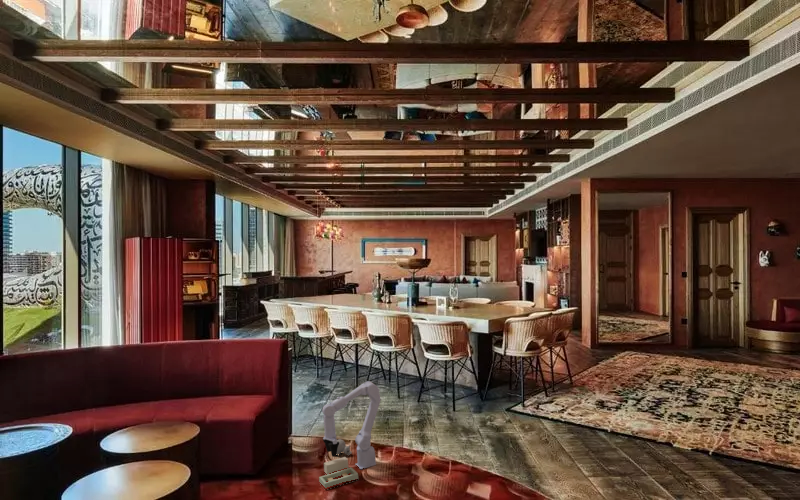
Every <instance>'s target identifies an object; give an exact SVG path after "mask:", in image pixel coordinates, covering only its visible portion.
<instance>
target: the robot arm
mask: <svg viewBox="0 0 800 500" xmlns="http://www.w3.org/2000/svg"><path fill="white" fill-rule="evenodd" d="M360 395H361V396H367V395H368V397H369V399H370V402H369V405H368V409H367V411H366V414H365V418H364V421H363V424H362V427H361V429H360V430H359V432H358V434H357V435H356V437H355V439H354V440H355V443H356V445H357V446H356V456H357V457H356V458H357V463H355V464H354V465H355V466H356V465H357V466H358V467H359V468H358V467H357V466H356V467H357V468H358V469H360V470H364V469H366V468H369V467H370V468H371V467H373V466H377V461H376V452H375V450H376V449H375V448H374V447H373V446H372V445H371V438H372V429H373V426H374V423H375V420H376V416H377V413H378V410H379V406H380V403H381V399H382V398H381V395H380V389H379V387H378V386H377V385H376V384H374V383H373V382H372V381H371V380H369V381H368V380H367V381H365V382H364V383H361V384H360V385H359V386H357V387H356V388H354V389H353V390H351V391H350V392H348V393H347V394H346V395H344V396H342V395H341V396H337V397H336V399H334V400H332V401H330V402H329V403H327V404H324V405H323V407H322V411H321V412H322V414H323V427H324V432H323V433H324V437H322V441H323V444H324V446H325V450H326V452H327V453H331V456H332V457H333V458H334V457H337V456H336V454H337V448H338V445H339V442H337V440H338V439H337V433H336V420H335V414H336V413H337V412H338V411H340V410H341V409H343V408H344V407H347V405H348V402H351V400H354V399H355V398H357V397H359V396H360ZM363 468H364V469H363Z"/></svg>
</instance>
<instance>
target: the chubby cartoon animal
mask: <svg viewBox="0 0 800 500" xmlns="http://www.w3.org/2000/svg"><path fill="white" fill-rule="evenodd" d="M337 442H339V445H338V448H337V455H338V454H340V453H341V452H343V454H345V455H346V456H347V455H350V454H351V455H352V450H351V445H350V444H349V445H346V442H345V440H343V439H341V438H339V439H337ZM340 455H341V454H340ZM351 455H350V456H351Z"/></svg>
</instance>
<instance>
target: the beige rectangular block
mask: <svg viewBox="0 0 800 500" xmlns="http://www.w3.org/2000/svg"><path fill="white" fill-rule="evenodd" d="M344 468H349V460H348V458H347V457H346V456H343V457H340V458H339V457H338V458H336V459H332V460H329V461H325V462H323V471H324V472H325V473H326V474H329V473H332V472H334V471H338V470H341V469H344ZM325 473H324V474H325ZM326 474H325V475H326Z"/></svg>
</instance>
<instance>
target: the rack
mask: <svg viewBox="0 0 800 500" xmlns="http://www.w3.org/2000/svg"><path fill="white" fill-rule="evenodd" d="M349 473H351V474H350V475H348V474H349ZM341 475H342V476H343V477H341V478H338V479H333V478H335V477H338V476H341ZM355 479H358V480H359V473H358V472H357V471H356V470H355V469H354V468H353V467H348V468H347V469H344V470H341V471H337V472H334V473H331V474H327V475H326V474H325V475H322V476H319V477H318V480H319V481H318V482H320V483H321V484H322V485H323V486H324V487H325V488H327V487H330V486H333V485H336V484H339V483H342V482H346V481H351V480H355ZM326 481H328V482H326ZM320 483H319V484H320ZM321 484H320V485H321Z"/></svg>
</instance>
